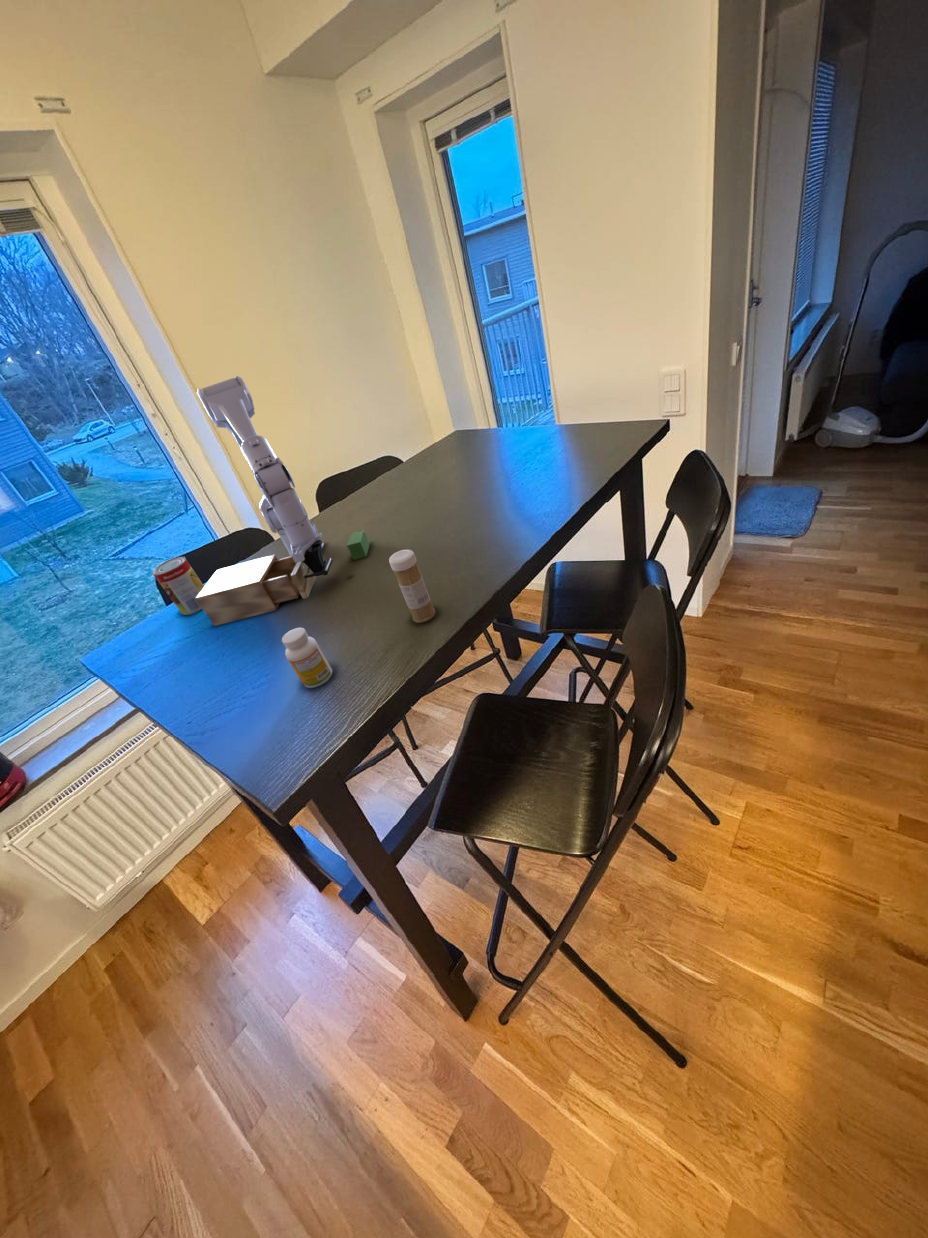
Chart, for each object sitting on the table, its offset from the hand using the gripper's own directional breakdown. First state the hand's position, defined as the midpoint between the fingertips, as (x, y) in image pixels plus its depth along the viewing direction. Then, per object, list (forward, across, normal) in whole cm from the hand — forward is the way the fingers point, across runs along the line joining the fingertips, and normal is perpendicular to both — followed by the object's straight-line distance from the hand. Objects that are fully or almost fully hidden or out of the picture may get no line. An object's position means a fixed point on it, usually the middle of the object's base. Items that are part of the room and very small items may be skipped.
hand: (321, 573), depth 112 cm
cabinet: (+3, 0, +18) cm, 19 cm away
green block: (+3, +13, -7) cm, 15 cm away
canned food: (+3, +6, +36) cm, 37 cm away
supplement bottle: (+3, -34, -6) cm, 35 cm away
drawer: (+2, 0, +7) cm, 8 cm away
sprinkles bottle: (+3, -23, -25) cm, 34 cm away
